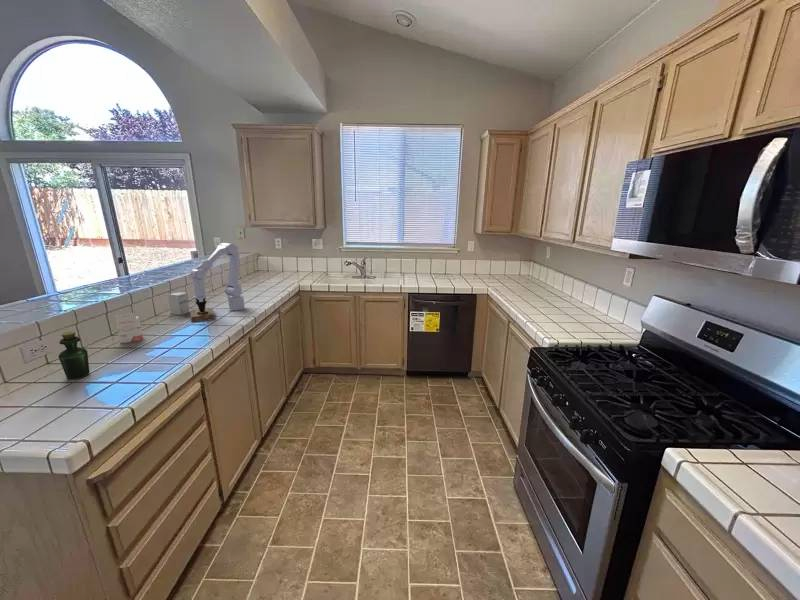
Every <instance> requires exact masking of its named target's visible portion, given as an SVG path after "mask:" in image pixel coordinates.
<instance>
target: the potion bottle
mask: <svg viewBox="0 0 800 600" xmlns="http://www.w3.org/2000/svg"><path fill="white" fill-rule="evenodd" d="M61 337H62V338H61V339H60V340H59V344H60V345H64V347H65V349H64V350H62V351H61V352H60V353H59V355H58V359H59V362H60V364H61V367H62V370H63V372H64V374H65V378H66V379H68V380H79V379H82V378H85V377H87V376H88V375H89V374H90V364H89V355H88V354H89V353H88V350H87V349H86V348H85V347H79V346H78V343H79V342H80V341H81V338H80V337H79V336H77V335H76V332H75V331H66V332H62V333H61Z"/></svg>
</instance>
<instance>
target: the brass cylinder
mask: <svg viewBox="0 0 800 600" xmlns="http://www.w3.org/2000/svg"><path fill="white" fill-rule="evenodd" d="M206 308H207V307H206V305H205V312H200V310H199V307H198V306H197V309H198V311H199V315H201V314H207V313H206Z"/></svg>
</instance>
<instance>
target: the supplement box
mask: <svg viewBox="0 0 800 600" xmlns="http://www.w3.org/2000/svg"><path fill="white" fill-rule="evenodd" d="M167 298H168V303H169V309H170V314H171V313H173V314H172V315H178V314H181V315H183V314H186V313H189V312H190V307H189V299H188V298H189V296H188V293H187V292H182V291H181V292H178V291H177V292H174V293H170V294H168V295H167ZM188 311H189V312H188Z"/></svg>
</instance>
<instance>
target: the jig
mask: <svg viewBox="0 0 800 600" xmlns="http://www.w3.org/2000/svg"><path fill="white" fill-rule="evenodd" d="M206 313H207V314H201V315H199V311H198V308H195V309H191V310H190V318H191V322H192V321H195V322H200V321H199V320H203V321H209V320H208V319H211V320H215V319H216V316H215V311H214V309H213V307H206Z"/></svg>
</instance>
